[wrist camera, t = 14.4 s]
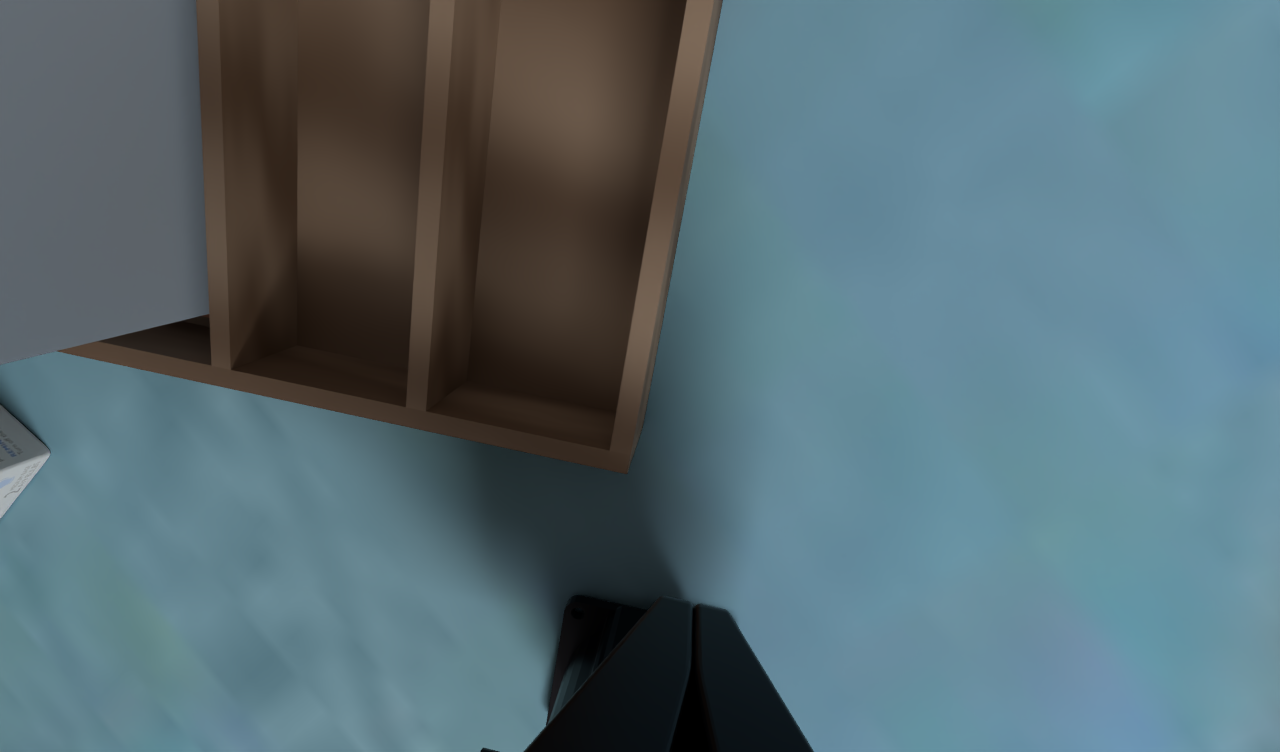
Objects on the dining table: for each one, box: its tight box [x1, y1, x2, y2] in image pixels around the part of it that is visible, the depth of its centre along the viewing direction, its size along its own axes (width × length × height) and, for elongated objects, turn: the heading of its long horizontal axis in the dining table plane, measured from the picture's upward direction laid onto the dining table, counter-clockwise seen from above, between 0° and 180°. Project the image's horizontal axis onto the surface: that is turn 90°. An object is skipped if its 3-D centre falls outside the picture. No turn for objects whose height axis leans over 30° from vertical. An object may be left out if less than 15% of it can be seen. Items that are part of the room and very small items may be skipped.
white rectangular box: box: [0, 0, 209, 365], centre depth 15 cm, size 12×4×8 cm, turn 171°
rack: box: [58, 0, 723, 474], centre depth 17 cm, size 16×19×4 cm
